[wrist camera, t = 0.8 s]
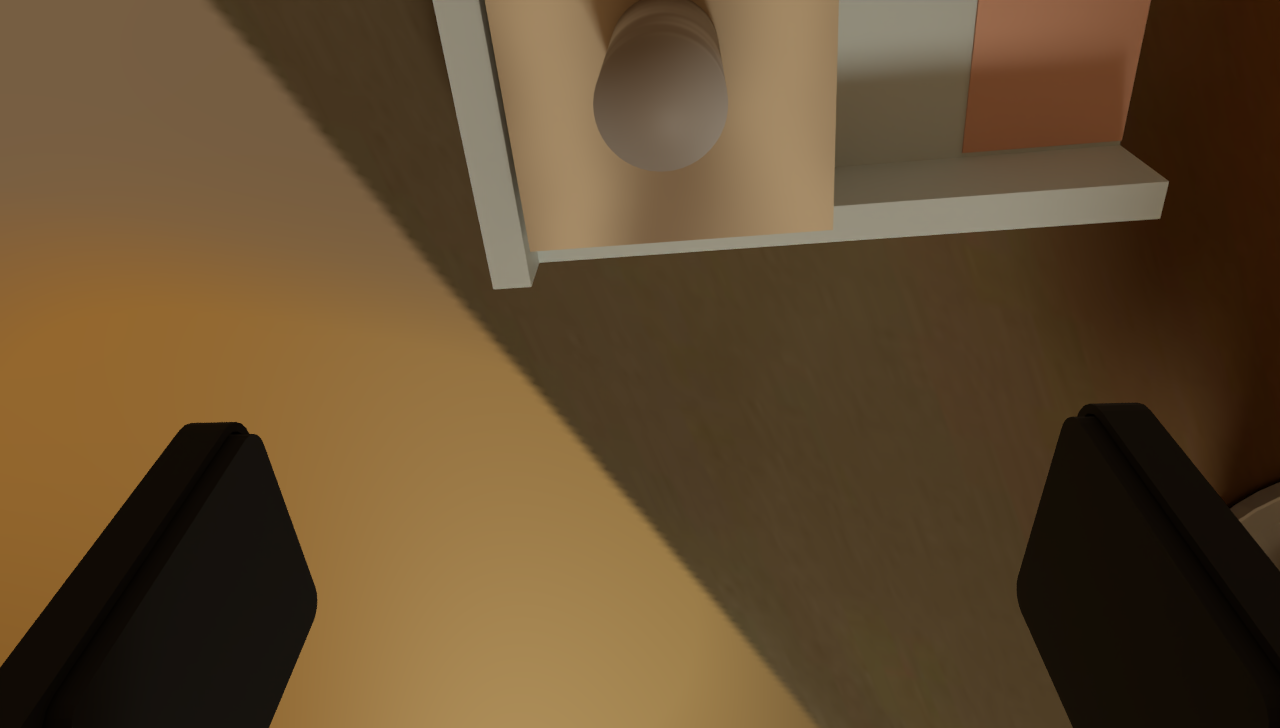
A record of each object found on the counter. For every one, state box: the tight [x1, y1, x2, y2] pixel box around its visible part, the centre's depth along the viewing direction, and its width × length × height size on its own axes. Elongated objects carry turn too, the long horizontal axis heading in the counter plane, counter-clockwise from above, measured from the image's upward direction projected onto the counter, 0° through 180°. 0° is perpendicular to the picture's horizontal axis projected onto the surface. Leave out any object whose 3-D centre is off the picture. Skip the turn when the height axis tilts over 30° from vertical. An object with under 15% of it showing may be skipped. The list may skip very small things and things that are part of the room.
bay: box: [433, 0, 1169, 289], centre depth 29 cm, size 24×16×7 cm, turn 96°
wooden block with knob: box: [485, 0, 839, 252], centre depth 26 cm, size 10×12×13 cm
